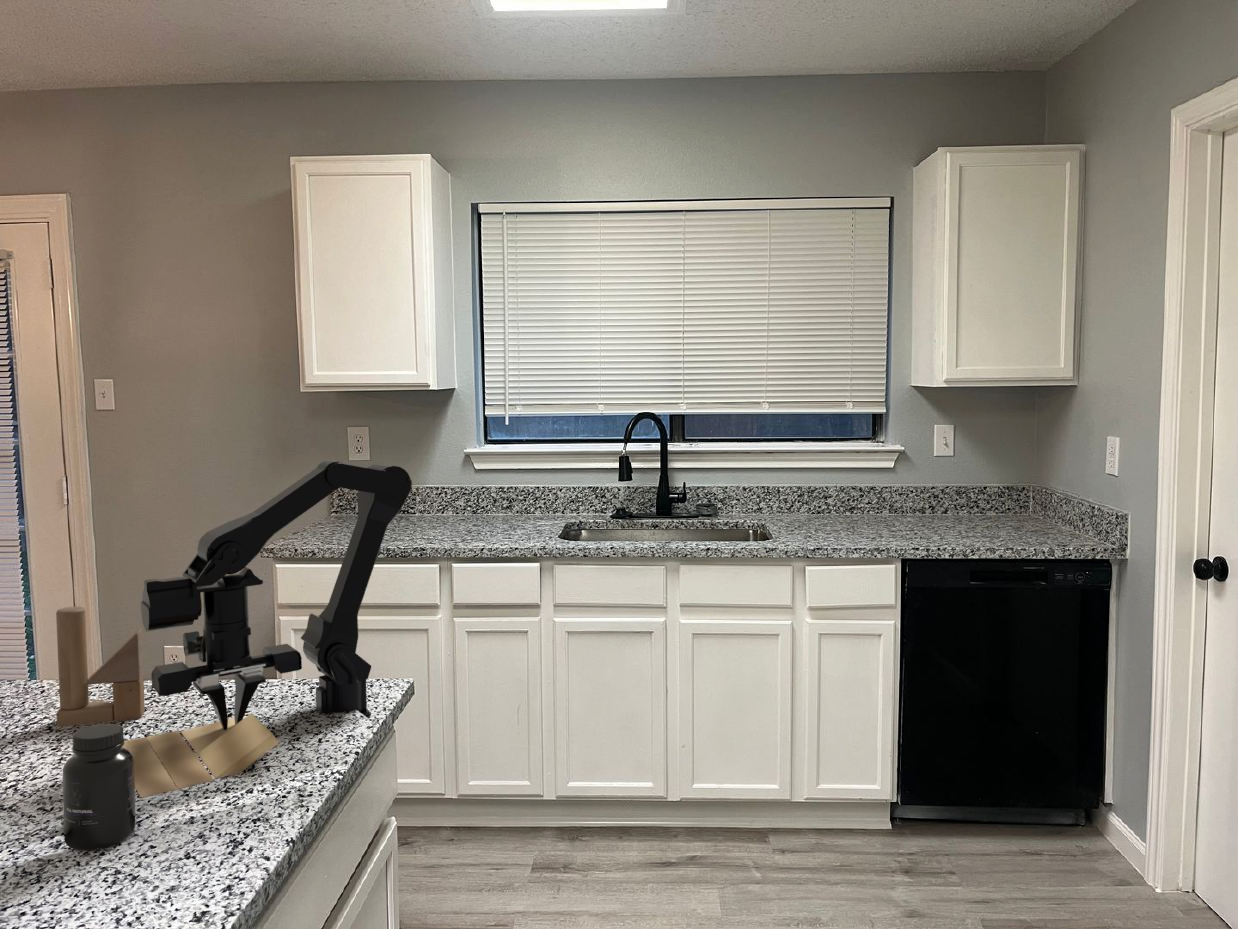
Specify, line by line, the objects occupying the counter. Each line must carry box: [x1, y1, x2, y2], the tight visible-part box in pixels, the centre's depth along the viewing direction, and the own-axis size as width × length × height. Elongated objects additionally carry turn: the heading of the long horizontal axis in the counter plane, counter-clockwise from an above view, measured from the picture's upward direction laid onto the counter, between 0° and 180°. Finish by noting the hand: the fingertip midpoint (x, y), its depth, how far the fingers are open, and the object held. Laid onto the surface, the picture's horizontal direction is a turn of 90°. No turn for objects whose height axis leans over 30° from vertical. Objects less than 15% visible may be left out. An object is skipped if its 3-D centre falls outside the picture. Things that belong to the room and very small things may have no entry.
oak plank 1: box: [180, 717, 235, 754], centre depth 124 cm, size 8×10×2 cm
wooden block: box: [55, 606, 146, 728], centre depth 130 cm, size 4×11×18 cm, turn 110°
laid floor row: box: [122, 730, 215, 799], centre depth 115 cm, size 8×20×2 cm, turn 38°
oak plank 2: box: [197, 712, 280, 779], centre depth 116 cm, size 8×10×2 cm
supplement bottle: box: [62, 723, 136, 852], centre depth 97 cm, size 7×7×12 cm
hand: (231, 727), depth 126 cm, fingers closed on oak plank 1
